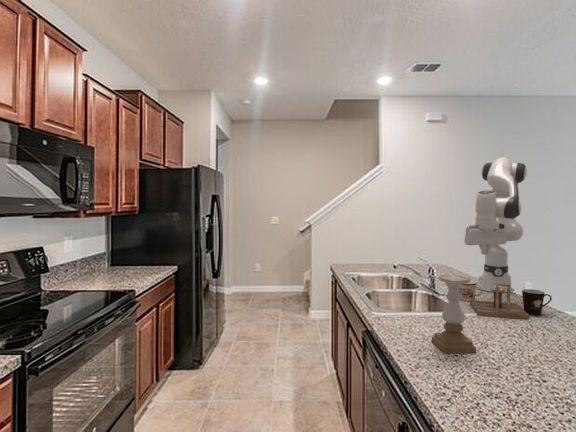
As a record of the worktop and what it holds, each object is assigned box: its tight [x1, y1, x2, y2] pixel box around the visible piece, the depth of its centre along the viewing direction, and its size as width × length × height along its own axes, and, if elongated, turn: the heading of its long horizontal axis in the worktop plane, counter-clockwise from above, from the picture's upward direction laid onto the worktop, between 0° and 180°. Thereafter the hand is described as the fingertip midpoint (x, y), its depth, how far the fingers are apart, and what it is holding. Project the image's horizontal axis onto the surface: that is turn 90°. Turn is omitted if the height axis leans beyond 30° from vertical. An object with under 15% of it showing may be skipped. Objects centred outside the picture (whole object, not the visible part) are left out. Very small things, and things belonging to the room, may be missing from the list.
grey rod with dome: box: [491, 282, 506, 294], centre depth 180 cm, size 20×6×3 cm, turn 162°
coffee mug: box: [521, 288, 552, 316], centre depth 174 cm, size 12×9×10 cm
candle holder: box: [431, 274, 477, 354], centre depth 134 cm, size 11×11×24 cm
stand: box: [469, 284, 530, 320], centre depth 178 cm, size 20×20×14 cm
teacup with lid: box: [460, 276, 483, 302], centre depth 199 cm, size 12×9×12 cm
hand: (485, 254), depth 185 cm, fingers closed
